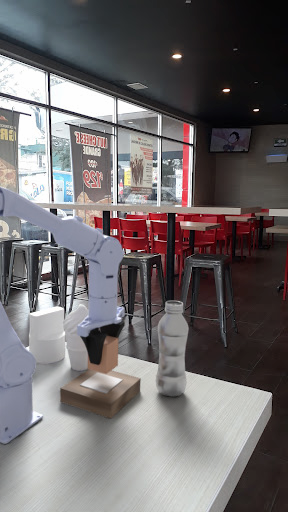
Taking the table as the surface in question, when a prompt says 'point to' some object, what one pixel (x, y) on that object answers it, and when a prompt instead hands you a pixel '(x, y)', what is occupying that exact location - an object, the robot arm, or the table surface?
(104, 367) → the terracotta cube
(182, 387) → the plastic bottle
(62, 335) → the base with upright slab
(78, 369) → the soft serve ice cream cone
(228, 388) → the table surface
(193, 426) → the table surface
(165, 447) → the table surface
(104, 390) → the walnut pedestal
